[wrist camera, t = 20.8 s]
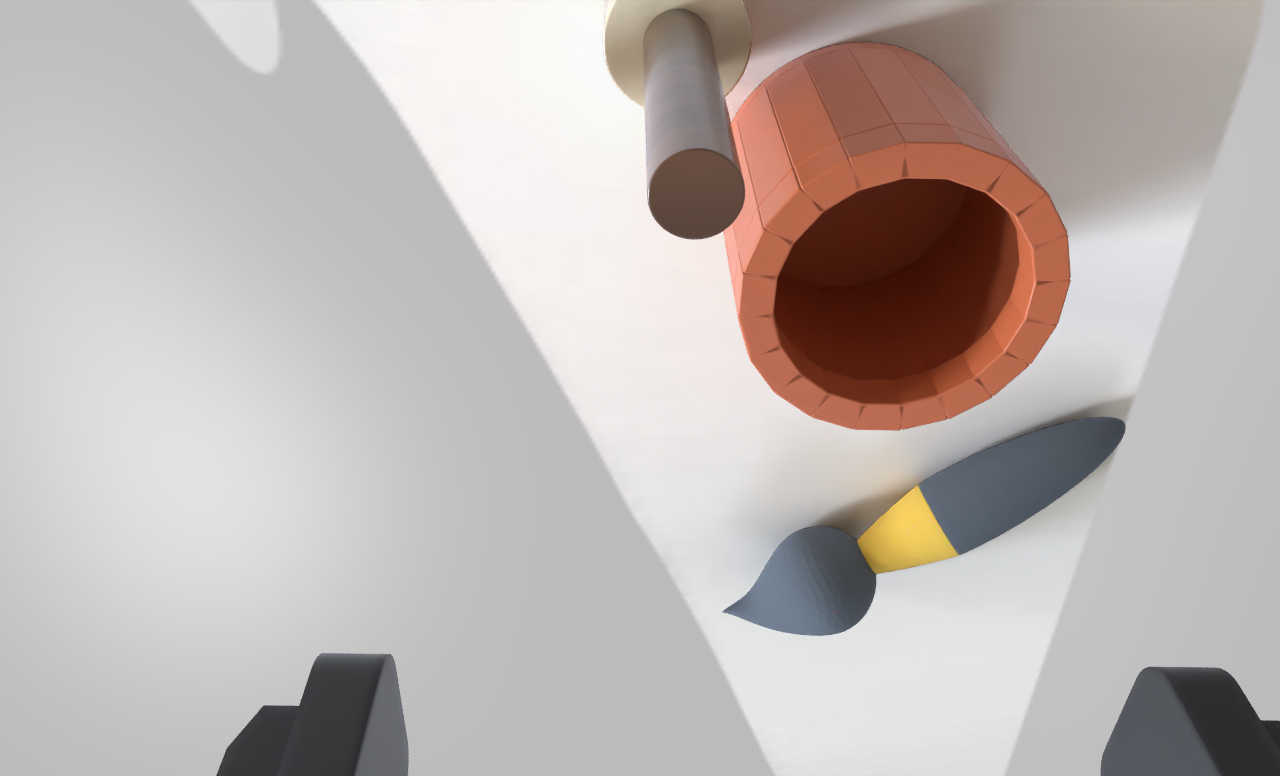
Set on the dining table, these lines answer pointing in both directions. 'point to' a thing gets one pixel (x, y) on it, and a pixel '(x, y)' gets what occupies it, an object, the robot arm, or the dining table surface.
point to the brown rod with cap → (683, 103)
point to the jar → (887, 242)
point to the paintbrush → (923, 527)
